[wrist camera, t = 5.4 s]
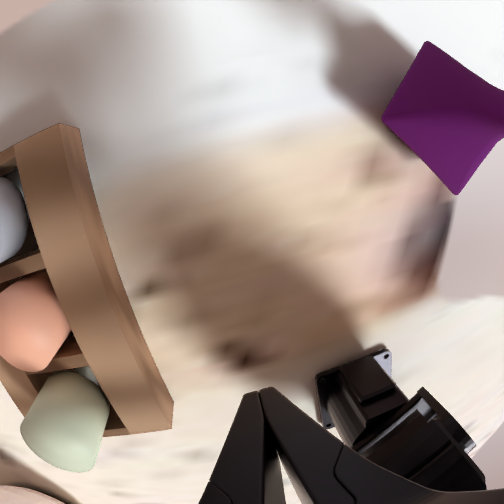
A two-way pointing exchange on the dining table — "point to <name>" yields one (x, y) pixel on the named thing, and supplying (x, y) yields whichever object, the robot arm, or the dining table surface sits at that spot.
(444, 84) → the perfume bottle
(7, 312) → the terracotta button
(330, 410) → the robot arm
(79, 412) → the pale green rounded cube
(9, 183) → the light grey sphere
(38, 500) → the bowl
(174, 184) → the dining table surface
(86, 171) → the wooden compartment tray
